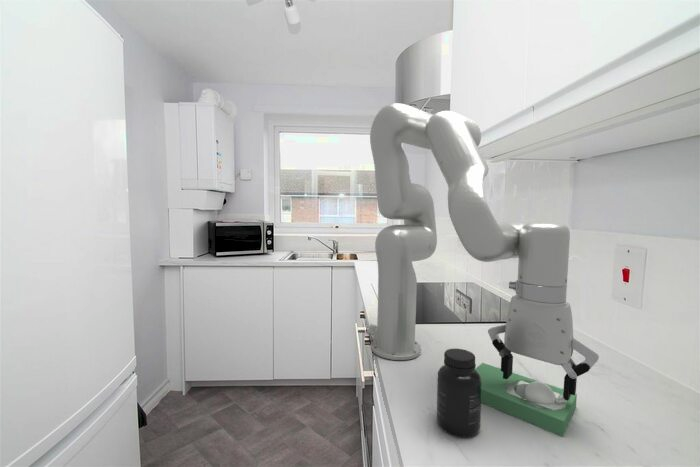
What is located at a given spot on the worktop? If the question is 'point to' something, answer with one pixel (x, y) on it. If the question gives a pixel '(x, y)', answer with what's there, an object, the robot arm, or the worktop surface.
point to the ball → (539, 393)
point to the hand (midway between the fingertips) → (535, 386)
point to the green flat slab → (510, 400)
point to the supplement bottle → (459, 394)
